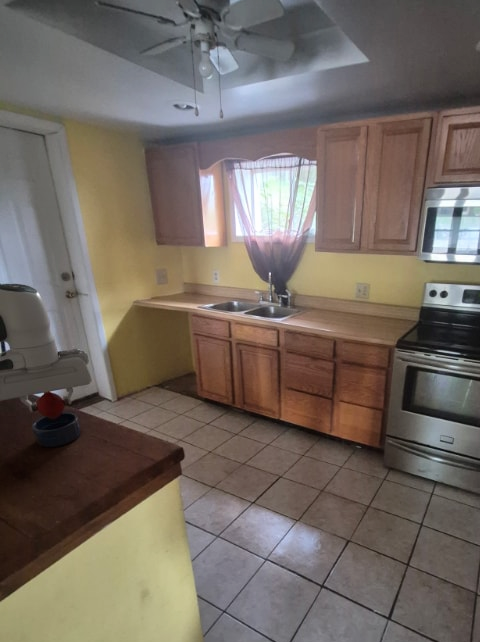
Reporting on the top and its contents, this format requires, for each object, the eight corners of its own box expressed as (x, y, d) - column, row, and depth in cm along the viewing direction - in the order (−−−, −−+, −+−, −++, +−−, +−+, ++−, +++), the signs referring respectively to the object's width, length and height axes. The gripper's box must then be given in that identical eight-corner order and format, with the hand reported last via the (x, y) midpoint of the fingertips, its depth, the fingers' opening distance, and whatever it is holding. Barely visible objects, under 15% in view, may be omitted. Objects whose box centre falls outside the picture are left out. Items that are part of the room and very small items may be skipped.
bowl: (28, 449, 92) (23, 431, 90) (51, 428, 101) (46, 412, 99) (69, 448, 92) (64, 430, 90) (88, 428, 101) (84, 412, 99)
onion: (64, 411, 98) (56, 383, 95) (71, 418, 94) (63, 390, 91) (38, 418, 94) (30, 389, 91) (44, 426, 90) (35, 397, 87)
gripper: (84, 344, 95) (96, 393, 100) (-17, 358, 85) (2, 411, 90) (86, 351, 90) (98, 402, 95) (-20, 366, 80) (0, 422, 85)
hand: (51, 407), depth 93 cm, fingers closed on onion, 6 cm apart
